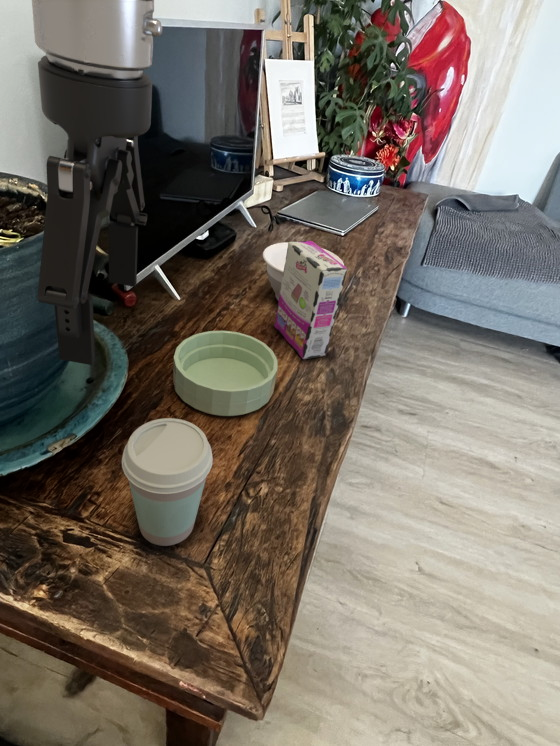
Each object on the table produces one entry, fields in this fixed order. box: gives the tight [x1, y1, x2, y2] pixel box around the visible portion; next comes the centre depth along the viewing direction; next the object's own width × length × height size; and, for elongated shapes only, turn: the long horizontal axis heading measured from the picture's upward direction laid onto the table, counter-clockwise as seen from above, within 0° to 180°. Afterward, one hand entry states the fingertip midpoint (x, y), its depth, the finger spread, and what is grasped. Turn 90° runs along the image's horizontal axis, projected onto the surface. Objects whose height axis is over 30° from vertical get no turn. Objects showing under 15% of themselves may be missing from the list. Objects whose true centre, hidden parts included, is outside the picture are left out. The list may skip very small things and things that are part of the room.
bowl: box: [262, 241, 345, 301], centre depth 98 cm, size 16×16×8 cm
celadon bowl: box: [172, 330, 279, 417], centre depth 73 cm, size 15×15×5 cm
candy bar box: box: [274, 240, 348, 360], centre depth 82 cm, size 11×5×16 cm, turn 27°
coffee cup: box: [121, 417, 214, 547], centre depth 50 cm, size 8×9×12 cm
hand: (102, 317), depth 47 cm, fingers open, 13 cm apart
